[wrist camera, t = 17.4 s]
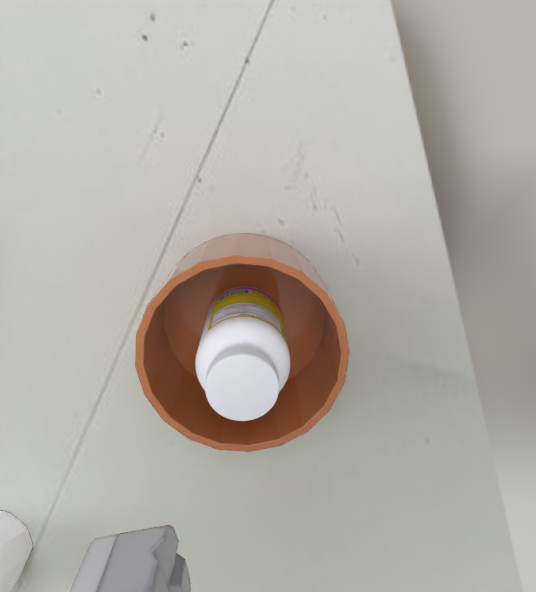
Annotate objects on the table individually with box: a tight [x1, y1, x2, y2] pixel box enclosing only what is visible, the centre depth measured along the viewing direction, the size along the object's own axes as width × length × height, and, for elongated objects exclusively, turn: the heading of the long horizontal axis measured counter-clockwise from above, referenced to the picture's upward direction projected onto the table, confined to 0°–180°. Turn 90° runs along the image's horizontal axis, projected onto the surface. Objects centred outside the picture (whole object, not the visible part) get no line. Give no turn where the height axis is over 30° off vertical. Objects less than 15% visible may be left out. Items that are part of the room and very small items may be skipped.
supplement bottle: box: [195, 286, 290, 421], centre depth 36 cm, size 7×7×13 cm
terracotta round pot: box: [135, 233, 349, 452], centre depth 39 cm, size 15×15×9 cm
